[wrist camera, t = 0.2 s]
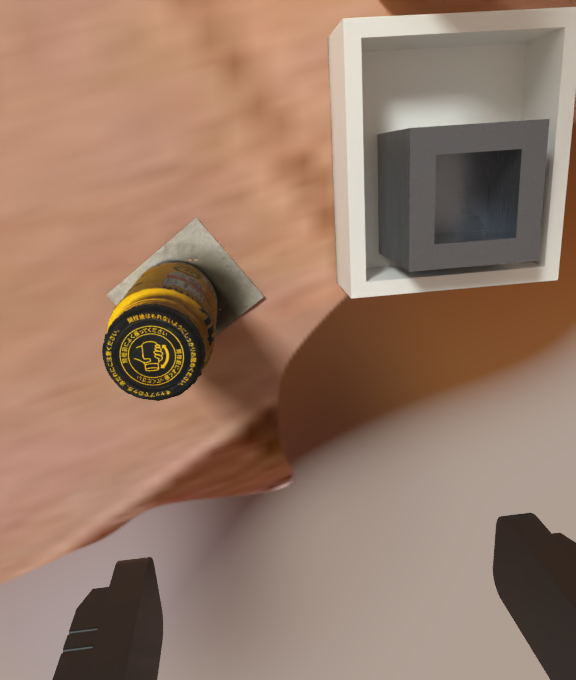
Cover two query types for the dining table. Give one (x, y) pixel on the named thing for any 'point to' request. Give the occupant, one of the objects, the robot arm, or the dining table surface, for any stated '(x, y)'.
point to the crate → (444, 123)
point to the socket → (461, 194)
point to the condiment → (173, 314)
